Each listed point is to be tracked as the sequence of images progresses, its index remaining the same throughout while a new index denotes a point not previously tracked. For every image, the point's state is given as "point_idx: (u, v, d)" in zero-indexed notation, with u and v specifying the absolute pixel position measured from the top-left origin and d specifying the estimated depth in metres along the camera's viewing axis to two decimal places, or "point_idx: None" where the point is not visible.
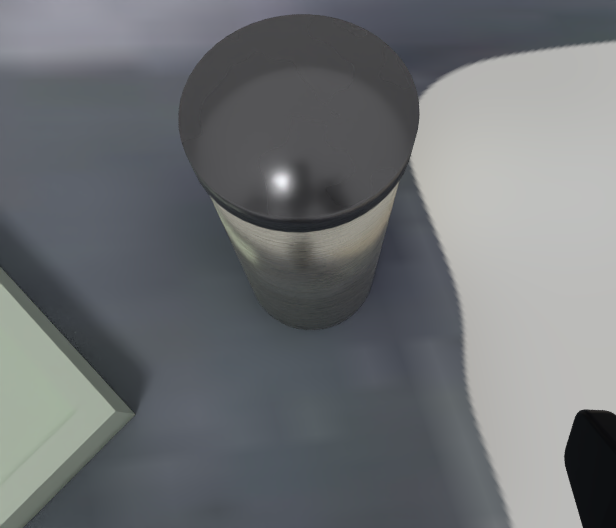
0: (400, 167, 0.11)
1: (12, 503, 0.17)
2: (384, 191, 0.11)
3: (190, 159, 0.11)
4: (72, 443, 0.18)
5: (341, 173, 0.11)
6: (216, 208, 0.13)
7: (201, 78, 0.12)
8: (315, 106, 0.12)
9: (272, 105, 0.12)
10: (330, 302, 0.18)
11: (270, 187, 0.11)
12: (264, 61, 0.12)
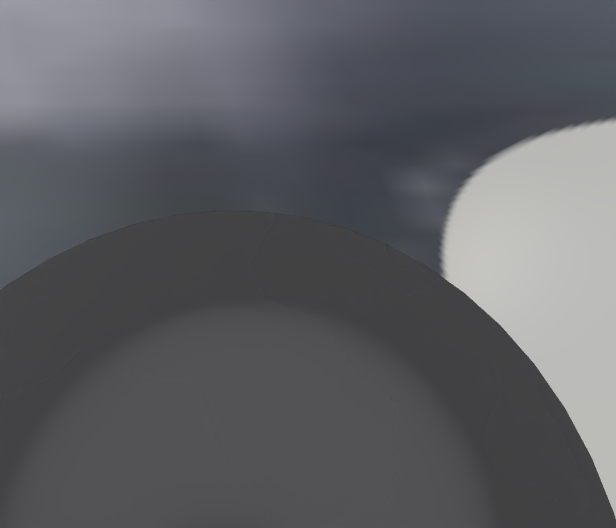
0: None
1: None
2: None
3: None
4: None
5: None
6: None
7: None
8: None
9: None
10: None
11: None
12: (111, 383, 0.04)
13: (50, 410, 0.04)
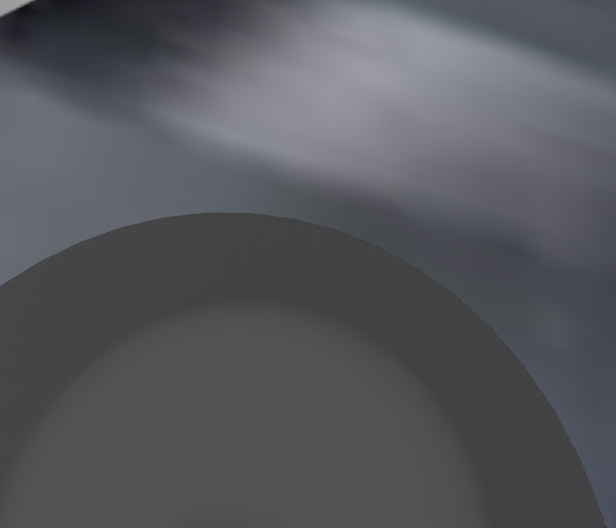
0: None
1: None
2: None
3: None
4: None
5: None
6: None
7: None
8: None
9: None
10: None
11: None
12: (101, 385, 0.04)
13: (40, 412, 0.04)
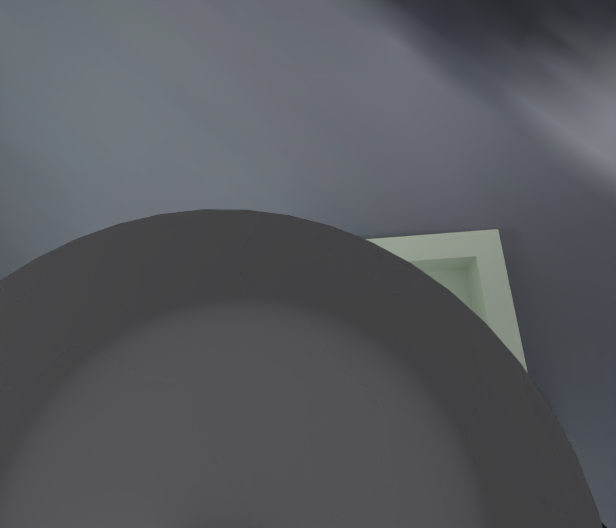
0: None
1: None
2: None
3: None
4: None
5: None
6: None
7: None
8: None
9: None
10: None
11: None
12: (97, 382, 0.04)
13: (36, 408, 0.04)
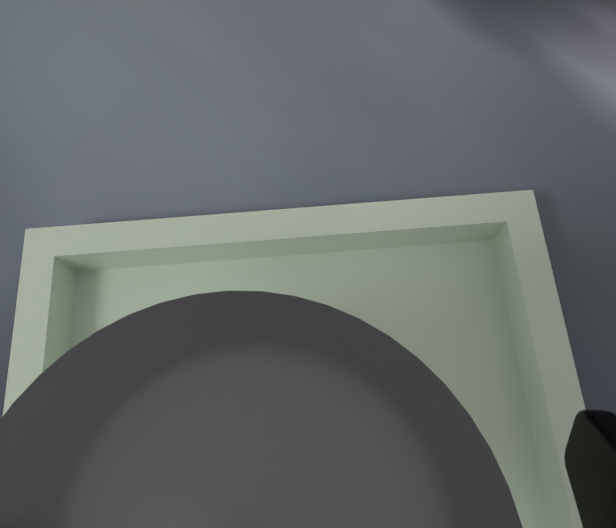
0: None
1: None
2: None
3: None
4: None
5: None
6: None
7: None
8: None
9: None
10: None
11: None
12: (150, 429, 0.05)
13: (105, 449, 0.05)
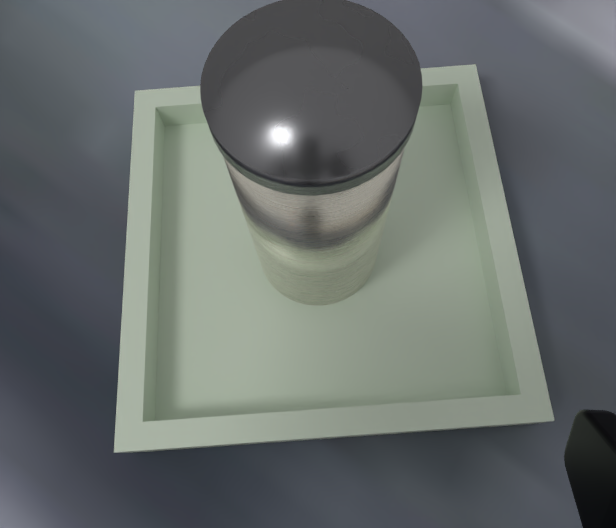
0: (405, 134, 0.12)
1: (433, 422, 0.19)
2: (390, 156, 0.12)
3: (211, 127, 0.12)
4: (504, 416, 0.19)
5: (351, 139, 0.12)
6: (233, 178, 0.14)
7: (220, 54, 0.13)
8: (326, 79, 0.13)
9: (286, 79, 0.13)
10: (337, 274, 0.19)
11: (285, 152, 0.12)
12: (278, 39, 0.13)
13: (262, 45, 0.13)
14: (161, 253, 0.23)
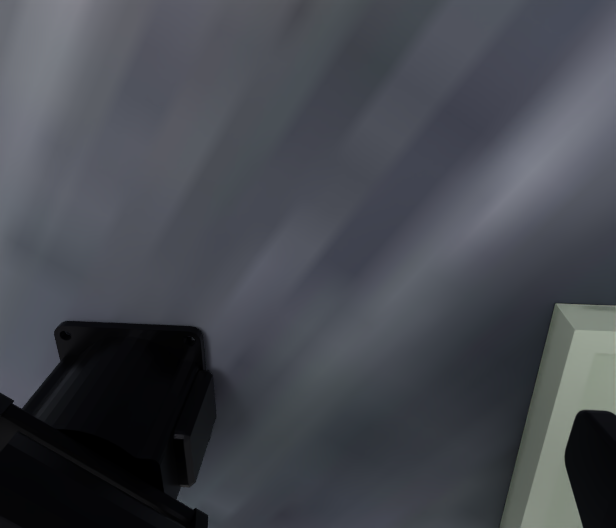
0: None
1: None
2: None
3: None
4: None
5: None
6: None
7: None
8: None
9: None
10: None
11: None
12: None
13: None
14: None
